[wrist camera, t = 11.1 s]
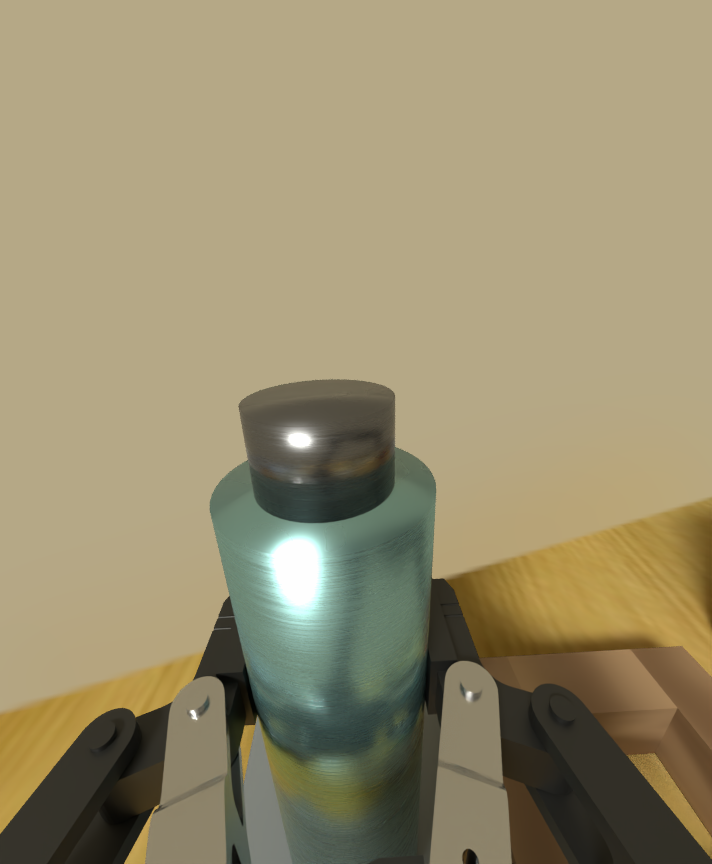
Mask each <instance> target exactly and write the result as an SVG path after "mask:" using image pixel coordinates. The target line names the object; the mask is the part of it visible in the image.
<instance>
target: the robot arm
mask: <svg viewBox="0 0 712 864" xmlns="http://www.w3.org/2000/svg"><path fill="white" fill-rule="evenodd" d="M425 702H426V707H427V712H428V715H433V714H437V717H438V721H439V726H440V730H441V732H440V744H439V756H438V768H437V780H436V792H435V804H434V816H433V828H432V840H431V852H430V863H429V864H512V860H511V843H510V826H509V810H508V798H507V791H506V788H505V786H504V784H503V776H504V777H507V778H510V779H512V780H515V781H518V782H521V783H524V784H525V786H526V788H527V790H528V791H529V793H530V795H531V797H532V799H533V800H534V802H535V804H536V806H537V808H538V809H539V811H540V813H541V815H542V816H543V818H544V820H545V822H546V824H547V825H548V827H549V829H550V831H551V833H552V834H553V836H554V838H555V840H556V841H557V843H558V845H559V847H560V849H561V850H562V852H563V854H564V856H565V858H566V859H567V861H568V863H569V864H712V859H711V858H710V857H709V856H708V855H707V853H706V852H705V851H704V850H703V848H702V847H701V846H700V845H699V844H698V842H697V841H696V840H695V839H694V837H693V836H692V835H691V834H690V833H689V831H688V830H687V829H686V828H685V827H684V825H683V824H682V823H681V822H680V820H679V819H678V818H677V817H676V816H675V814H674V813H673V812H672V811H671V809H670V808H669V807H668V806H667V805H666V803H665V802H664V801H663V800H662V798H661V797H660V796H659V795H658V794H657V792H656V791H655V790H654V789H653V787H652V786H651V785H650V784H649V783H648V781H647V780H646V779H645V778H644V776H643V775H642V774H641V773H640V772H639V770H638V769H637V768H636V767H635V765H634V764H633V763H632V762H631V761H630V759H629V758H628V757H627V756H626V754H625V753H624V752H623V751H622V750H621V748H620V747H619V746H618V745H617V743H616V742H615V741H614V740H613V739H612V737H611V736H610V735H609V734H608V732H607V731H606V730H605V729H604V728H603V726H602V725H601V724H600V723H599V722H598V720H597V719H596V718H595V717H594V715H593V714H592V713H591V712H590V711H589V709H588V708H587V707H586V706H585V704H584V703H583V702H582V701H581V700H580V699H579V698H578V697H577V696H576V695H575V694H573V693H572V692H571V691H569V690H567V689H566V688H564V687H561V686H559V685H556V684H550V683H549V684H542V685H539V686H538V687H536V688H535V690H534V691H533V693H532V692H529V691H525V690H521V689H518V688H514V687H511V686H508V685H505V684H503V683H501V682H500V681H498V680H496V679H495V678H494V677H493V676H491V675H490V674H489V672H488V671H487V670H486V669H485V668H484V667H483V665H482V663H481V661H480V659H479V657H478V654H477V651H476V648H475V646H474V643H473V640H472V638H471V635H470V632H469V630H468V627H467V624H466V622H465V619H464V617H463V614H462V611H461V608H460V606H459V603H458V600H457V597H456V595H455V592H454V590H453V588H452V587H451V586H450V585H449V584H448V583H447V582H446V581H445V580H444V579H432V578H431V597H430V616H429V635H428V654H427V673H426V691H425ZM256 719H257V711H256V706H255V702H254V698H253V694H252V689H251V685H250V681H249V676H248V672H247V668H246V664H245V659H244V655H243V651H242V646H241V642H240V638H239V633H238V629H237V625H236V621H235V616H234V612H233V608H232V603H231V599H230V596H229V597H228V598H227V599H226V600H225V602H224V603H223V606H222V609H221V611H220V614H219V618H218V619H217V621H216V624H215V627H214V631H213V632H212V634H211V637H210V639H209V642H208V644H207V647H206V650H205V652H204V655H203V657H202V660H201V662H200V665H199V667H198V670H197V673H196V675H195V677H194V679H193V681H192V682H190V683H189V684H187V685H186V686H185V687H184V688H183V689H182V690H181V691H180V692H179V693H178V694H177V696H176V697H175V699H174V701H173V702H171V703H169V704H168V705H166V706H163V707H161V708H159V709H156V710H154V711H151V712H148V713H146V714H143V715H141V716H138V717H136V718H135V715H134V714H133V712H132V711H130V710H128V709H125V708H118V709H114V710H111V711H108V712H106V713H104V714H102V715H101V716H99V717H98V718H96V719H95V720H94V721H93V722H91V723H90V724H89V725H88V726H87V727H86V728H85V729H84V730H83V731H82V733H81V734H80V735H79V736H78V738H77V739H76V740H75V741H74V743H73V744H72V745H71V746H70V748H69V749H68V750H67V751H66V753H65V754H64V755H63V756H62V758H61V759H60V760H59V761H58V763H57V764H56V765H55V766H54V768H53V769H52V770H51V771H50V773H49V774H48V775H47V776H46V778H45V779H44V780H43V781H42V783H41V784H40V785H39V786H38V788H37V789H36V790H35V791H34V793H33V794H32V795H31V796H30V798H29V799H28V800H27V801H26V803H25V804H24V805H23V806H22V808H21V809H20V810H19V811H18V813H17V814H16V815H15V816H14V818H13V819H12V820H11V821H10V823H9V824H8V825H7V826H6V828H5V829H4V830H3V831H2V833H1V834H0V864H124V862H125V860H126V859H127V857H128V855H129V853H130V851H131V849H132V848H133V846H134V844H135V842H136V840H137V838H138V836H139V835H140V833H141V831H142V829H143V827H144V825H145V824H146V822H147V820H148V818H149V816H150V814H151V813H152V811H153V809H154V807H155V806H157V805H159V804H160V805H159V808H158V809H156V810H155V811H154V813H153V815H152V818H151V822H150V828H149V835H148V843H147V852H146V861H145V864H251V856H250V850H249V844H248V837H247V828H246V815H245V801H244V787H243V773H242V759H241V748H240V742H241V738H242V734H243V729H244V725H255V723H256ZM367 864H424V857H423V855H415V856H401V857H386V858H378V859H376V860H374V861H372V862H370V863H367Z"/></svg>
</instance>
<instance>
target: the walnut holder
mask: <svg viewBox="0 0 712 864" xmlns="http://www.w3.org/2000/svg"><path fill="white" fill-rule="evenodd" d="M479 659H480V661H481V663H482V665H483V667H484V668H485V669H486V670H487V671H488V672H489V674H490V675H491V676H493V677H494V678H495V679H496V680H498V681H500V682H501V683H503V684H505V685H508V686H511V687H514V688H518V689H521V690H525V691H529V692H532V693H533V691H534V690H535V688H536V687H538V686H539V685H542V684H549V683H550V684H556V685H559V686H561V687H564V688H566V689H567V690H569V691H571V692H572V693H573V694H575V695H576V696H577V697H578V698H579V699H580V700H581V701H582V702H583V703H584V704H585V706H586V707H587V708H588V709H589V711H590V712H591V713H592V714H593V715H594V717H595V718H596V719H597V720H598V722H599V723H600V724H601V725H602V726H603V728H604V729H605V730H606V731H607V732H608V734H609V735H610V736H611V737H612V739H613V740H614V741H615V742H616V743H617V745H618V746H619V747H620V748H621V750H622V751H623V752H624V753H625V754H626V755H630V754H646V753H655V754H656V755H657V757H658V758H659V759H660V761H661V762H662V764H663V765H664V767H665V768H666V770H667V771H668V773H669V774H670V776H671V777H672V779H673V780H674V782H675V783H676V785H677V786H678V788H679V789H680V790H681V792H682V793H683V795H684V796H685V798H686V799H687V801H688V802H689V804H690V805H691V807H692V808H693V810H694V811H695V813H696V814H697V816H698V817H699V819H700V820H701V821H702V823H703V824H704V826H705V827H706V829H707V830H708V832H709V833H710V835H711V836H712V677H711V676H710V675H709V674H708V673H707V672H706V671H705V670H704V669H703V668H702V667H701V666H700V665H699V663H698V662H697V661H696V660H695V659H694V658H693V657H692V656H691V655H690V654H689V653H688V652H687V651H686V650H685V649H684V648H683V647H682V646H676V647H659V648H642V649H625V650H608V651H591V652H574V653H557V654H539V655H522V656H505V657H488V658H479ZM503 784H504V786H505V788H506V791H507V798H508V810H509V826H510V843H511V860H512V864H569V863H568V861H567V859H566V858H565V856H564V854H563V852H562V850H561V849H560V847H559V845H558V843H557V841H556V840H555V838H554V836H553V834H552V833H551V831H550V829H549V827H548V825H547V824H546V822H545V820H544V818H543V816H542V815H541V813H540V811H539V809H538V808H537V806H536V804H535V802H534V800H533V799H532V797H531V795H530V793H529V791H528V790H527V788H526V786H525V784H524V783H521V782H518V781H515V780H512V779H510V778H507V777H504V776H503Z"/></svg>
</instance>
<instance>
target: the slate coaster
mask: <svg viewBox="0 0 712 864" xmlns="http://www.w3.org/2000/svg"><path fill="white" fill-rule="evenodd" d="M440 732H441V730H440V726H439V721H438V717H437V714H433V715H428V712H427V707H426V702H425V710H424V729H423V748H422V767H421V786H420V805H419V824H418V843H417V855H423V857H424V864H429V863H430V852H431V840H432V828H433V816H434V804H435V792H436V780H437V768H438V756H439V744H440ZM243 787H244V801H245V815H246V828H247V837H248V844H249V850H250V856H251V864H292V861H291V857H290V852H289V848H288V844H287V840H286V835H285V831H284V827H283V822H282V818H281V814H280V809H279V805H278V801H277V797H276V792H275V788H274V784H273V779H272V775H271V771H270V767H269V762H268V758H267V754H266V749H265V745H264V741H263V736H262V732H261V728H260V724H259V719H258V716H257V721H256V726H255V731H254V736H253V741H252V746H251V751H250V755H249V760H248V765H247V770H246V775H245V780H244V785H243Z"/></svg>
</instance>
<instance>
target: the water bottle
mask: <svg viewBox="0 0 712 864" xmlns="http://www.w3.org/2000/svg"><path fill="white" fill-rule="evenodd" d="M239 412H240V417H241V423H242V429H243V434H244V440H245V446H246V452H247V457H248V460H247V461H246V462H244V463H242V464H241V465H239V466H237V467H236V468H235V469H233V470H232V471H230V472H229V473H228V474H227V475H226V476H225V477H224V478H223V479H222V480H221V481H220V482H219V484H218V485H217V486H216V488H215V490H214V492H213V494H212V497H211V500H210V513H211V518H212V522H213V526H214V530H215V535H216V539H217V543H218V548H219V552H220V556H221V561H222V565H223V569H224V573H225V578H226V582H227V586H228V590H229V595H230V599H231V603H232V608H233V612H234V616H235V621H236V625H237V629H238V633H239V638H240V642H241V646H242V651H243V655H244V659H245V664H246V668H247V672H248V676H249V681H250V685H251V689H252V694H253V698H254V702H255V706H256V711H257V715H258V719H259V724H260V728H261V732H262V736H263V741H264V745H265V749H266V754H267V758H268V762H269V767H270V771H271V775H272V779H273V784H274V788H275V792H276V797H277V801H278V805H279V809H280V814H281V818H282V822H283V827H284V831H285V835H286V840H287V844H288V848H289V852H290V857H291V861H292V864H367V863H370V862H372V861H374V860H376V859H378V858H386V857H401V856H415V855H417V843H418V824H419V805H420V786H421V767H422V748H423V729H424V710H425V691H426V673H427V654H428V635H429V616H430V597H431V578H432V559H433V540H434V521H435V502H436V483H435V480H434V477H433V475H432V473H431V471H430V470H429V468H428V467H427V466H426V465H425V464H424V463H423V462H422V461H420V460H419V459H418V458H416V457H415V456H413V455H411V454H410V453H408V452H406V451H403V450H401V449H399V448H396V447H395V395H394V392H393V391H392V390H390V389H389V388H387V387H385V386H382V385H379V384H376V383H371V382H365V381H356V380H312V381H302V382H296V383H289V384H283V385H278V386H274V387H271V388H267V389H264V390H260V391H258V392H255V393H253V394H251V395H249V396H247V397H246V398H244V399H243V400H242V401H241V402H240V404H239Z"/></svg>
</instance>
